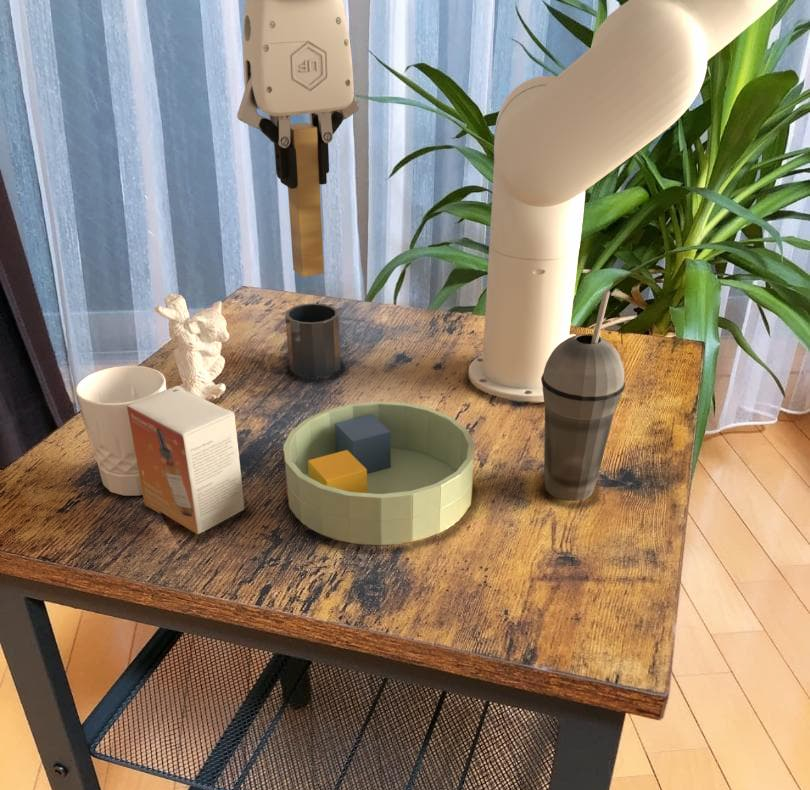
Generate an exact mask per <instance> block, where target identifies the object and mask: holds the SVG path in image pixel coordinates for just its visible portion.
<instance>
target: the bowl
mask: <svg viewBox="0 0 810 790" xmlns="http://www.w3.org/2000/svg"><path fill="white" fill-rule="evenodd" d="M371 414H372V415H373V416H374V417H375V418H376V419H377V420H378V421H380V422H381V423H382V424H383V425H384V426H385V427H386V428H387V429H388V430H389V431H390V455H391V468H387V469H384V470H380V471H376V472H373V473H369V474H367V493H358V492H348V491H344V490H341V489H337V488H333V487H329V486H325V485H323V484H321V483H319V482H317V481H315V480H313V479H312V478H310V477H309V471H308V460H311V459H315V458H319V457H323V456H326V455H330V454H334V453H336V437H335V423H338V422H342V421H346V420H350V419H354V418H358V417H362V416H366V415H371ZM475 451H476V443H475V441H474V440H473V437H472V436H471V433H470V432H469V430H468V429H467V428H466V427H465V426H463V425H462V424H461V423H460V422H458V420H456V419H455V418H454V417H452V416H450V415H447V414H445V413H443V412H441V411H438V410H437V409H434V408H431V407H426V406H422V405H418V404H412V403H410V402H409V403H408V402H399V401H397V402H396V401H383V400H381V401H380V400H379V401H378V400H377V401H365V402H354V403H353V402H352V403H348V404H343V405H340V406H335V407H332V408H327V409H324V410H322V411H320V412H317V413H315V414H313V415H312V416H310V417H307V418H305V419H304V420H302V421H301V422H300V423H299V424H298V425H297V426H295V427H294V428H293V429H292V430H290V432H289V433H288V435H287V437H286V439H285V442H284V444H283V446H282V452H283V464H284V465H283V466H284V475H285V476H284V477H285V486H286V487H285V488H286V495H287V501H288V508H289V509H290V510H291V512H292V513H293V514H294V516H295V517H296V518H297V519H298V521H300V523H302V525H304V526H306V527H307V528H308V529H310V530H312V531H315V532H316V533H318V534H320V535H322V536H325V537H327V538H330V539H333V540H336V541H339V542H344V543H349V544H356V545H366V546H393V545H400V544H407V543H413V542H417V541H420V540H424V539H428V538H430V537H433V536H435V535H438V534H440V533H441V532H444V531H446V530H447V529H449V528H450V527H452V526H453V525H455V524H456V523H458V522H459V521H460V520H461V518H463V516H464V515H465V514H466V512H467V511H468V509H469V508H470V507H471V505H472V499H473V488H474V473H475V472H474V471H475V455H476V452H475Z"/></svg>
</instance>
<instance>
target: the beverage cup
mask: <svg viewBox="0 0 810 790" xmlns="http://www.w3.org/2000/svg"><path fill="white" fill-rule="evenodd" d="M610 294H611V291H610V290H609V289H604V290H603V294H602V297H601V300H600V305H599V309H598V314H597V318H596V322H595V324H594V325H595V326H594V330H593V334H590V333H584V334H583V333H582V334H577V335H576V334H575V335H576V336H573V337H570V338H568V339H566V340H565V341H563V342H562V343H560V344H559V345H558V346H557V347H556V348H555V349H554V350H553V352H552V353H551V355H550V357H549V359H548V361H547V363H546V365H545V368H544V373H543V375H542V377H541V381H542V385H543V387H542V388H543V397H544V402H543V403H544V447H543V448H544V450H543V451H544V452H543V453H544V454H543V455H544V456H543V457H544V458H543V477H544V487H545V490H546V491H547V493H548V494H549V495H550V496H553V498H556V499H559V500H562V501H568V502H569V501H571V502H575V501H582V500H585V499H588V498H589V497H590V496H592V495H593V493H594V491H595V487H596V486H597V483H598V480H599V479H598V478H599V475H600V472H601V466H602V463H603V460H604V454H605V451H606V447H607V443H608V439H609V435H610V432H611V427H612V423H613V419H614V415H615V411H616V410H617V408H618V405H619V402H620V400H621V398H622V394H623V393H624V390H625V388H626V380H625V367H624V364H623V361H622V358H621V356H620V353H619V352H618V350H617V349H616V348H615V346H614V345H613V344H611V342H609V341H608V340H606V339H605V338H603V337H601V336H600V334H601V330H602V326H603V323H604V322H603V321H604V317H605V314H606V310H607V305H608V301H609V298H610Z"/></svg>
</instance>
